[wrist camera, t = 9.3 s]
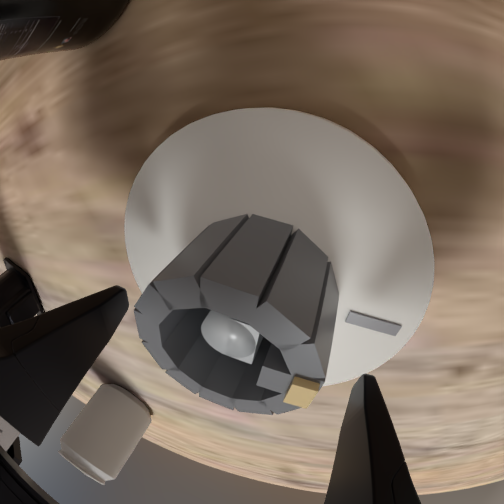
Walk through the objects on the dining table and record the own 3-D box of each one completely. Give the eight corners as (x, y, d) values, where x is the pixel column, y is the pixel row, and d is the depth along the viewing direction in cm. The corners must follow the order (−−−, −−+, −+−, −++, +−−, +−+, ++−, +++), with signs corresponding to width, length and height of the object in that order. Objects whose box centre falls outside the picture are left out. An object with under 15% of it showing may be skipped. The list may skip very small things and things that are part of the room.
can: (95, 375, 29) (44, 440, 19) (128, 383, 26) (69, 465, 16) (130, 411, 32) (87, 473, 22) (166, 422, 28) (120, 497, 19)
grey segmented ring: (189, 315, 14) (144, 377, 11) (192, 197, 11) (117, 253, 7) (310, 357, 13) (289, 435, 9) (360, 245, 9) (357, 336, 6)
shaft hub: (148, 323, 18) (114, 365, 14) (136, 94, 10) (62, 106, 7) (354, 395, 15) (345, 452, 12) (480, 174, 7) (535, 218, 4)
